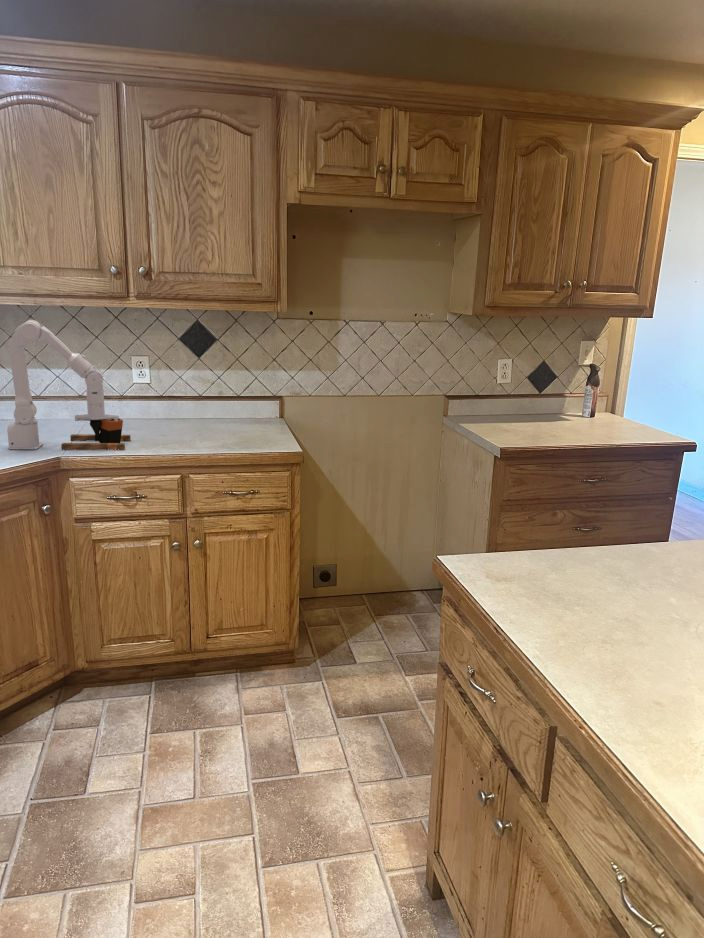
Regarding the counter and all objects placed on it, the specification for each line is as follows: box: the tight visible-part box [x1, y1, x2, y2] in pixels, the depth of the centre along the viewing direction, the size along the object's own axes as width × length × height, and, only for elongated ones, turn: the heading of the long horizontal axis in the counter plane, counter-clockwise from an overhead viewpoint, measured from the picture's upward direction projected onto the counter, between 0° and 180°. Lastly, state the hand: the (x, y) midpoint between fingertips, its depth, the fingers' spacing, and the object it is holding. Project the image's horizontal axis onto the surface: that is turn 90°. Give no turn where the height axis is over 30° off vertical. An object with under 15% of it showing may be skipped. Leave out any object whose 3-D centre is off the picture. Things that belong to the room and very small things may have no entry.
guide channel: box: [61, 433, 131, 451], centre depth 246 cm, size 21×15×2 cm
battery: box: [98, 415, 124, 443], centre depth 246 cm, size 4×7×10 cm, turn 153°
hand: (97, 440), depth 246 cm, fingers closed, pressing on battery
